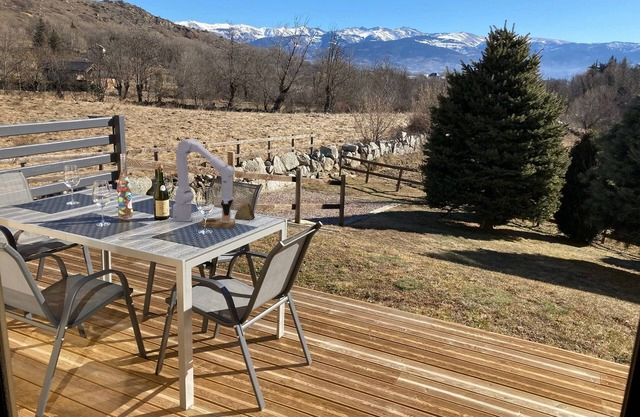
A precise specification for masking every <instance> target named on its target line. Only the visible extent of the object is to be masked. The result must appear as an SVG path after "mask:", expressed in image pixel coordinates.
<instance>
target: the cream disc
mask: <svg viewBox="0 0 640 417" xmlns="http://www.w3.org/2000/svg"><path fill="white" fill-rule="evenodd" d="M233 219H234V218H230V221H222V219H221V220H220V222H222V223H232V222H233Z"/></svg>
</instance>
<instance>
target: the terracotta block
mask: <svg viewBox="0 0 640 417" xmlns="http://www.w3.org/2000/svg"><path fill="white" fill-rule="evenodd" d="M231 209H232V208H231V207H230V210H229V215H228V216H224V211H223V207H222V208H221V212H222V213H221V218H222V221H230V219H232V218H231V213H232V212H231Z"/></svg>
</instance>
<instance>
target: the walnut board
mask: <svg viewBox="0 0 640 417" xmlns="http://www.w3.org/2000/svg"><path fill="white" fill-rule="evenodd" d="M204 218H205V217H203V218H202V220H201V221H200V223H199V227H200V228H208V227H212V229H215V228H216V229H218V228H219V229H221V228H223V229H234V227H235V225H234V224H236V219H235V218H232V219H233V222H232V223H222V222H220V220H221V219H222V217H221V218H220V217H219V218H216V217H215V218H214V217H213V218H212V217H206V218H207V220H206V223H205V219H204ZM205 224H206V227H204V225H205Z"/></svg>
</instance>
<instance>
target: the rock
mask: <svg viewBox="0 0 640 417" xmlns="http://www.w3.org/2000/svg"><path fill="white" fill-rule="evenodd" d="M235 218H236V219H238V220H244V219H252V220H255V219H256V216H255V213H254V210H253V208H252V206H251V204H250V203H249V202H244V203H243V204H241V206H240V207H239V209H237V210H236V213H235V215H234V219H235ZM254 218H255V219H254ZM236 219H235V220H236Z"/></svg>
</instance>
